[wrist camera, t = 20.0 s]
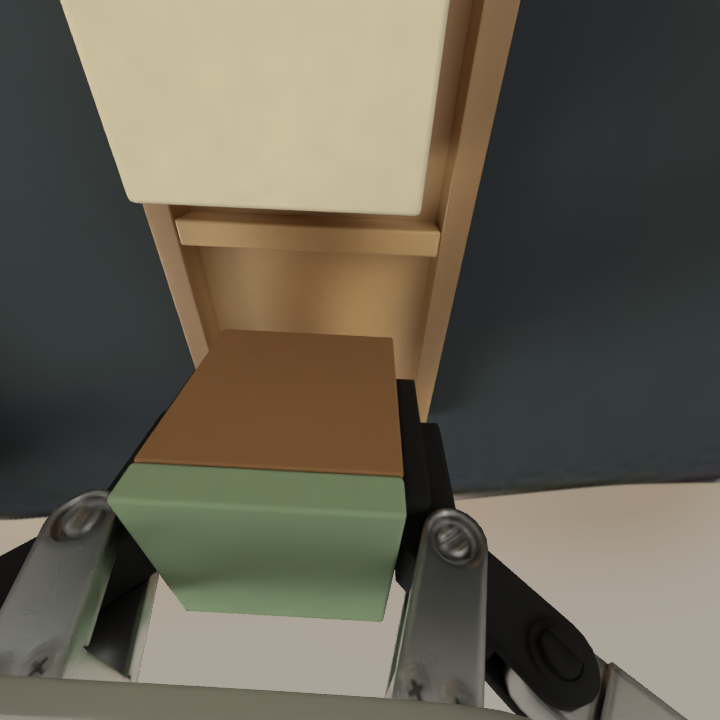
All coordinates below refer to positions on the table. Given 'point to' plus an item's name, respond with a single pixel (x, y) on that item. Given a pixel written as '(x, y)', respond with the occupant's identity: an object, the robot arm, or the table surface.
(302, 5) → the pad cream
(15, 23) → the table surface
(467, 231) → the wooden divided tray
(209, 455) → the pad sage
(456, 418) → the table surface
